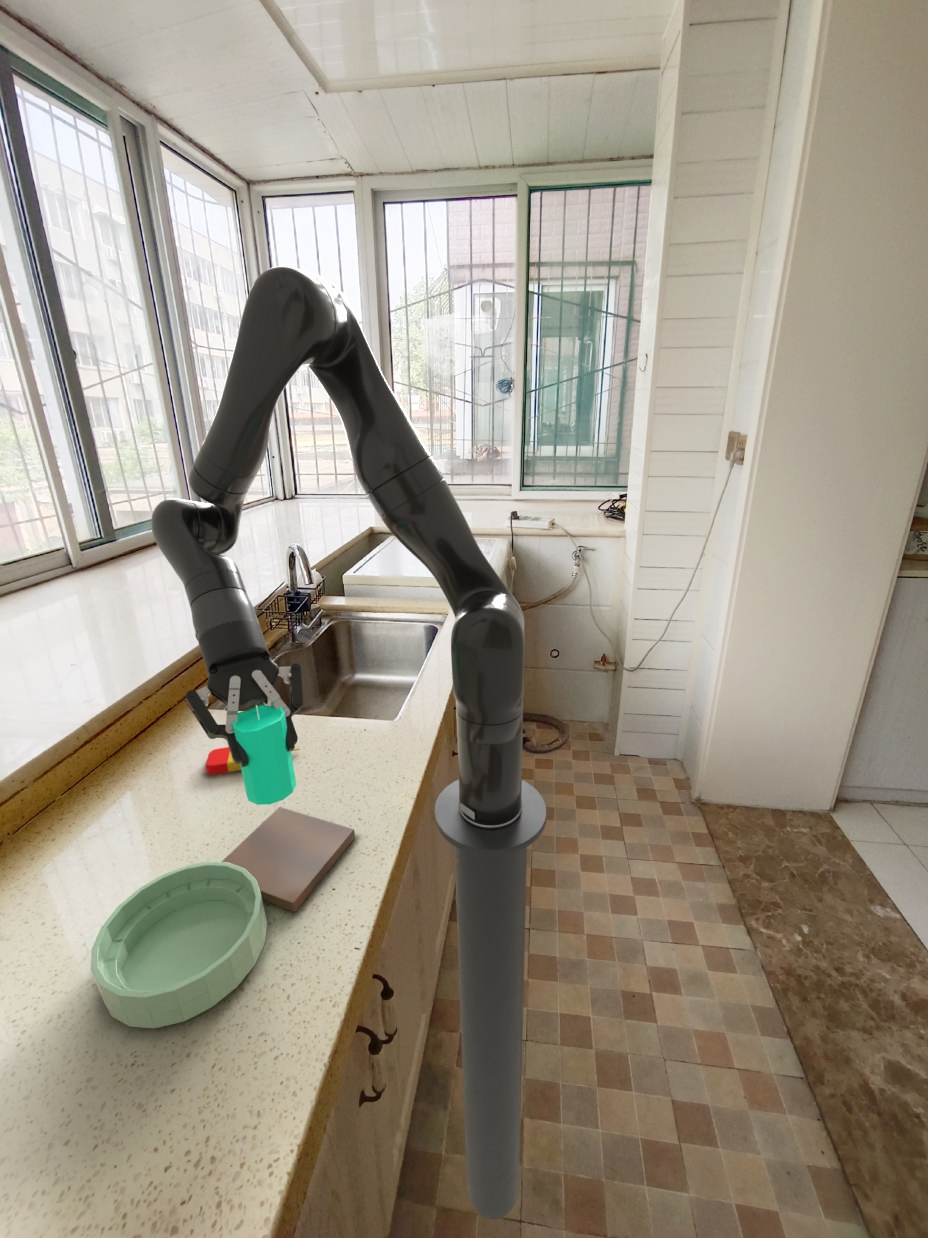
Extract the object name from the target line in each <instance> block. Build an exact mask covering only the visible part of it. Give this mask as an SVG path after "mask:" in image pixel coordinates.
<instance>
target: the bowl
mask: <svg viewBox="0 0 928 1238" xmlns="http://www.w3.org/2000/svg"><path fill="white" fill-rule="evenodd" d="M267 927H268V921H267V916H266V911H265V906H264V900H262V896H261V893H260V890H259V886H258V883H257V880H256V879H255V878H254V877H253V876H252V875H251V874H250V873H249V872H248V871H247V870H246V869H245V868H242V867H239V866H237V865H234V864H231V863H228V862H222V861H204V862H198V863H194V864H187V865H184V866H181V867H179V868H176V869H173V870H171V871H168V872H166V873H163V874H161V875H159V876H157V877H156V878H154V879H152V880H151V881H149V882H148V883H146V884H144V885H143V886H140V887H139V888H137V889H136V890H135V891H134V892H133V893H132V894H130V895H129V896H128V897H127V898H126V899H125V900H123V901H122V902H121V903H120V904H118V906H116V908H115V909H114V911H113V912H112V913H111V914H110V915H109V916H108V918H107V919H106V921H105V922H104V923H103V924H102V926H101V927H100V929H99V931H98V933H97V936H96V938H95V940H94V943H93V945H92V948H91V957H90V971H91V974H92V976H93V979H94V981H95V984H96V987H97V990H98V992H99V995H100V997H101V1000H102V1002H103V1003H104V1005H105V1007H106V1009H107V1011H108V1013H109V1015H110V1017H112V1018H113V1019H115V1020H117V1021H119V1022H121V1023H122V1024H124V1025H127V1027H130V1028H131V1027H132V1028H144V1029H158V1028H162V1027H167V1026H171V1025H174V1024H175V1025H176V1024H179V1023H184V1022H186V1021H189V1020H190V1019H192V1018H193V1017H196V1016H198V1015H200V1014H202V1013H204V1012H206V1011H208V1010H209V1009H211V1008H213V1007H214V1006H216V1005H217V1004H218V1003H219V1002H221V1001H222V1000H223V999H224V998H226V997H227V996H229V994H230V993H232V992H233V991H234V990H235V989H237V988H238V987H239V986H240V984H241V983H242V981H243V980H244V979H245V978H246V977H247V976H248V974H249V973H250V972H251V970H252V969H253V968H254V967H255V965H256V963H257V960H258V958H259V956H260V955H261V952H262V950H263V947H264V945H265V943H266V935H267Z"/></svg>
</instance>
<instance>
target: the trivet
mask: <svg viewBox="0 0 928 1238" xmlns="http://www.w3.org/2000/svg"><path fill="white" fill-rule="evenodd" d="M355 839H356V832H355V829H354V828H352V827H351V828H350V827H348V826H345V825H341V824H337V823H335V822H332V821H329V820H324V819H321V818H318V817H315V816H311V815H308V814H305V813H301V812H298V811H294V810H291V809H288V808H284V807H282V806H279V807H277V809H276V810H275V811H273V812H272V813H271V814H270V815H269V816H268V817H267V818H266V819H265V820H264V821H263V822H262V823H260V825H259V826H258V827H256V828H255V829H254V831H252V832H251V833H249V835H248V836H247V837H246V838H245V839H244V840H243V841H242V842H241V843H240V844H238V846H236V847H235V849H233V850H232V851H231V852H230V853H229V854H228V855H227V856H226V857H225V858H224V859H223V860H222V861H221V862H228V863H231V864H234V865H237V866H239V867H242V868H245V869H246V870H247V871H248V872H249V873H250V874H251V875H252V876H253V877H254V878H255V879H256V880H257V883H258V886H259V890H260V893H261V896H262V901H263V902H267V903H269V904H272V905H274V906H277V907H279V908H283V909H285V910H287V911H290V912H292V913H296V912H297V911H298V910H299V908H300V907H301V906H302V905H303V903H304V902H305V901H306V899H308V897H309V896H310V895H311V893H312V892H313V891H314V890H315V889H316V887H317V886H318V885H319V883H320V882H321V881H322V880H323V879H324V877H325V876H326V875H327V874H328V872H329V871H330V870H331V868H332V867H333V866H334V865H335V864H336V862H337V861H338V860H339V858H340V857H341V856H342V855H343V854H344V853H345V851H346V850H347V849H348V848H349V846H350V845H351V844H352V842H353V841H354V840H355Z"/></svg>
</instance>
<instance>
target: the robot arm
mask: <svg viewBox="0 0 928 1238" xmlns="http://www.w3.org/2000/svg"><path fill="white" fill-rule="evenodd" d="M234 344H235V345H234V349H233V352H232V356H231V360H230V363H229V367H228V371H227V374H226V378H225V382H224V386H223V390H222V393H221V397H220V400H219V403H218V406H217V408H216V412H215V414H214V417H213V420H212V422H211V425H210V427H209V429H208V432H207V433H206V435H205V438H204V440H203V442H202V444H201V446H200V448H199V451H198V452H197V455H196V457H195V459H194V461H193V463H192V466H191V468H190V471H189V474H188V484H189V488H190V489H191V490H192V492H193V493H194V494H195V495H196V496H197V497H199V498H200V499H201V500H203V501H205V502H200V501H194V500H188V499H181V498H167V499H164V500H162V501H160V502H158V504H157V505H155V508H154V509H153V511H152V514H151V519H150V527H151V531H152V537H153V539H154V541H155V544H156V545H157V547H158V549H159V550H160V552H161V553H162V555H163V556H164V558H165V560H167V562H168V563H169V565H170V566H171V567H172V569H173V570H174V572H175V574H176V576H178V578H179V579H180V581H181V583H182V585H183V587H184V591H185V594H186V597H187V601H188V605H189V607H190V612H191V619H192V626H193V629H194V633H195V639H196V641H197V642H198V646H199V650H200V652H201V656H202V659H203V663H204V667H205V669H206V673H207V676H208V677H207V682H206V685H205V686H203V687H201V688H199V689H197V690H193V689H190V690H188V691H187V692H186V693H185V699H186V701H185V702H186V705H187V706H188V708H189V709H190V711H191V713H192V714H193V716H194V717H195V719H196V721H197V722H198V723H199V725H200V727H201V728H202V729H203V731H204V732H205V735H206V736H207V738H209V739H210V740H215V739H224V740H225V741H226V742H227V746H228V747H229V749H230V752H231V756H232V759H233V761H234V763H235V764H238V763H240V764H241V767H245V766H247V765H248V763H249V762H248V758H247V754H246V751H245V750H244V749H243V747H242V746H241V745H240V744H239V742H238V741H237V740H236V737H235V734H234V729H233V725H232V721H235V722H236V723H237V718H238V713H239V711H242V710H244V709H247V708H249V707H251V706H256V705H257V706H258V705H266V706H272V707H274V708H275V709H276V710H277V711H278V709H277V708H280V707H282V708H283V710H284V712H285V717H286V723H287V733H286V741H287V747H288V751H291V752H293V751H292V750H294V748H295V746H296V745H297V743H298V740H299V739H298V738H299V737H298V733H297V731H296V728H295V725H294V722H293V719H292V717H294V716H295V715H297V714H299V713H301V709H302V707H303V705H304V699H303V697H304V696H303V682H302V666H301V665H300V664H299V663H296V662H295V663H293V664H292V665H290V666H278V664H277V663H276V662H274V661H273V659H272V657H271V655H270V652H269V648H268V645H267V643H266V642H267V641H266V640H265V637H264V634H263V630H262V628H261V625H260V621H259V619H258V616H257V613H256V610H255V608H254V606H253V604H252V602H251V600H250V598H249V596H248V593H247V590H246V587H245V584H244V581H243V577H242V575H241V572H240V570H239V567H238V565H237V564H236V562H235V561H234V560H232V558H229V557H228V556H225V555H223V554H225V553H227V552H229V551H230V550H231V549H232V548H233V547H235V544H236V543H237V540H238V537H239V531H240V525H241V524H240V523H241V518H242V512H243V507H244V503H245V498H246V495H247V494H248V492H249V489H250V488H251V486H252V484H253V482H254V480H255V479H256V478H257V474H258V473H259V471H260V469H261V468H262V465H263V463H264V460H265V458H266V455H267V451H268V448H269V441H270V434H271V433H270V432H271V425H272V420H273V419H272V418H273V414H274V411H275V408H276V405H277V404H278V401H279V399H280V397H281V395H282V393H283V391H284V390H285V389H286V386H287V385H288V384H289V382H290V381H291V380H292V378H293V377H294V376H295V375H296V373H297V371H298V370H299V369H301V367H302V366H307V367H308V368H309V370H310V371H311V373H312V374H314V376H315V378H316V379H317V380H318V382H319V384H320V385H321V386H322V388H323V390H324V391H325V393H326V394H327V397H328V398H329V400H330V401H331V402H332V404H333V406H334V407H335V410H336V411H337V413H338V415H339V418H340V421H341V423H342V427H343V430H344V434H345V437H346V442H347V445H348V446H347V447H348V451H349V454H350V459H351V463H352V467H353V470H354V472H355V475H356V477H357V480H358V482H359V484H360V486H361V488H362V490H363V492H364V493H365V495H366V496H367V497H366V498H368V500H369V501H370V503H371V505H372V507H373V508H374V510H375V511H376V513H377V514H378V516H379V517H380V520H382V522H383V524H384V525H385V527H387V529H388V530H389V532H390V533H391V534H392V535H393V536H394V538H395V539H396V540H397V541H398V542H399V543H400V544H401V545H403V547H404V548H405V549H406V550H408V551H409V552H410V553H411V554H412V555H413V556H414V557H415V558H416V559H417V560H418V561H419V562H420V563H421V564H423V566H424V567H426V569H427V570H428V571H429V572H430V574H431V575H432V576H433V577H434V579H435V580H436V583H437V584H438V586H439V587H440V589H441V591H442V593H443V594H444V597H445V598H446V600H447V602H448V604H449V606H450V609H451V610H452V612H453V615H454V617H455V620H454V623H453V626H452V629H451V636H450V658H451V660H450V661H451V675H452V676H451V677H452V693H453V696H454V700H455V712H456V740H457V742H456V744H457V772H458V780H459V813H460V815H461V817H462V818H463V819H464V821H466V822H467V823H468V824H470V825H471V826H473V827H476V828H479V829H484V830H498V829H503V828H506V827H508V826H510V825H512V824H513V823H515V822H516V821H517V820H518V819H519V817H520V815H521V812H522V802H521V792H522V780H523V739H524V738H523V737H524V736H523V735H524V734H523V733H524V730H523V729H524V697H525V695H524V694H525V693H524V691H525V689H524V687H525V686H524V683H525V625H526V624H525V617H524V612H523V610H522V608H521V606H520V603H519V602H518V600H517V599H516V597H515V596H514V595H513V594H512V593H511V590H510V589H508V587H507V586H506V584H505V583H504V582H503V580H502V579H501V577H500V576H499V575H498V573H497V572H496V571H495V568H493V566H492V565H491V563H490V562H489V560H488V558H486V556H485V555H484V553H483V551H482V550H481V548H480V546H479V544H478V543H477V540H476V539H475V536H474V534H473V532H472V530H471V527H470V526H469V524H468V521H467V519H466V517H465V515H464V513H463V511H462V510H461V508H460V506H459V503H458V502H457V500H456V498H455V496H454V494H453V492H452V489H451V488H450V486H449V484H448V482H447V481H446V479H445V477H444V475H443V474H442V472H441V470H440V468H439V466H438V464H437V463H436V462H435V459H434V457H433V456H432V454H431V453H430V451H429V449H428V447H427V446H426V445H425V443H424V442H423V439H422V438H421V437H420V435H419V433H418V432H417V430H416V429H415V426H414V424H413V423H412V422H411V420H410V418H409V416H408V414H407V412H406V411H405V409H404V408H403V406H402V405H401V403H400V401H399V400H398V398H397V396H396V395H395V393H394V391H392V389H391V387H390V385H389V384H388V382H387V380H386V378H385V376H384V374H383V372H382V370H381V368H380V366H379V364H378V362H377V359H376V358H375V356H374V354H373V351H372V350H371V347H370V345H369V342H368V341H367V338H366V335H365V334H364V331H363V329H362V327H361V325H360V322H359V320H358V317H357V316H356V314H355V312H354V310H353V308H352V305H351V303H350V301H349V300H348V298H347V296H346V295H345V294H344V292H343V291H341V289H340V287H339V286H337V285H336V284H335V283H334V282H332V281H331V280H329V279H328V278H327V277H324V276H322V275H319V274H317V273H312V272H310V271H307V270H303V269H300V268H298V267H292V266H285V265H279V266H272V267H270V268H268V269H265V270H264V271H263V272H262V273H260V274H259V275H258V276H257V278H256V279H255V280H254V282H253V284H252V285H251V288H250V290H249V293H248V295H247V298H246V302H245V305H244V308H243V312H242V315H241V320H240V323H239V327H238V332H237V337H236V340H235V343H234ZM278 677H280V678H282V680H283V683H284V684H286V685H289V686H288V687H289V702H290V703H289V704H288V705H287V704H286V703H285V701H284V700H283V699H282V698H281V696H280V694H279V693H278V691H277V689H275V688H274V687H275V685H276V683H277V679H278ZM209 696H212V697H214V698H215V699H217V700H218V701H220V702H221V703H223V704H225V705H226V706H227V707H226V718H225V724H218V723H217V721H216V719H215V718H214V716H213V715H212V714H211V712H210V710H209V709H208V708H207V707H208V706H209V703H210V701H209Z"/></svg>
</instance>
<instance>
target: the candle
mask: <svg viewBox="0 0 928 1238" xmlns="http://www.w3.org/2000/svg"><path fill="white" fill-rule="evenodd" d="M277 709H278V711H277V710H276V709H275V708H274V707H272V706H266V705H264V704H259V705H255V706H254V707H251V708H248V709H246V710H243V711H240V712H238V718H237V723H236V722H235V721H232V725H233V729H234V734H235V737H236V740H237V741H238V742H239V744H240V745H241V746H242V747H243V749H244V750H245V751H246V754H247V758H248V762H249V763H248V765H247V766H245V767H241V770H240V771H241V774H242V779H243V785H244V790H245V795H246V798H247V801H248V802H250V803H253V804H255V805H257V806H258V805H259V806H260V805H265V806H266V805H272V804H273V805H274V804H276V803H278V802H281V801H284V800H285V799H286V798H288V797H289V796H291V794H293V793H294V791H295V788H296V786H297V781H296V774H295V767H294V762H293V761H294V760H293V755H292V751H288V747H287V741H286V733H287V723H286V717H285V712H284V710H283V708H282V707H280V708H277ZM240 765H241V764H240Z"/></svg>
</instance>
